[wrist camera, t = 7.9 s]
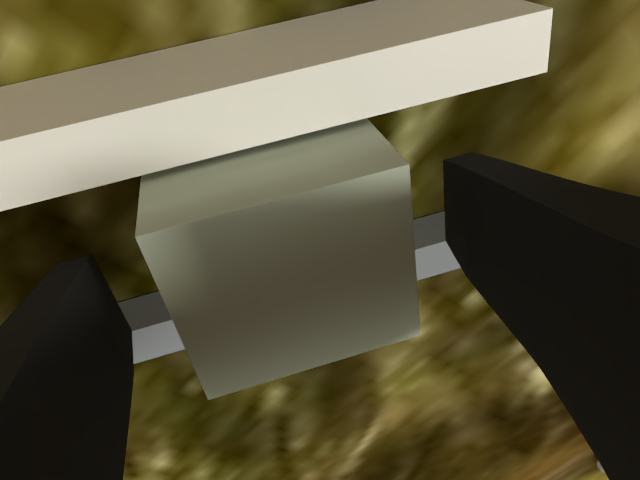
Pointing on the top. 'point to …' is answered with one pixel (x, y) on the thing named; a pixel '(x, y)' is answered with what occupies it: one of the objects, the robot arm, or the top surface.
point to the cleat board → (257, 104)
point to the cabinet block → (284, 254)
